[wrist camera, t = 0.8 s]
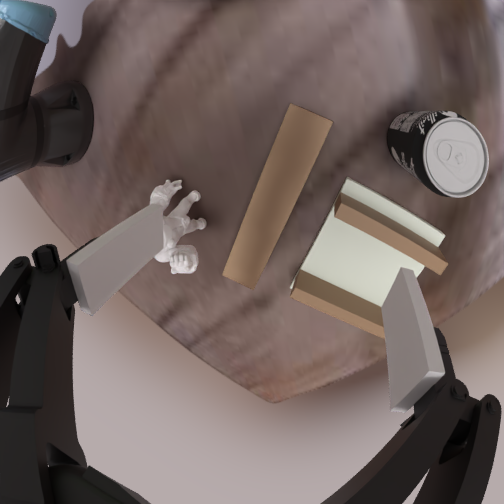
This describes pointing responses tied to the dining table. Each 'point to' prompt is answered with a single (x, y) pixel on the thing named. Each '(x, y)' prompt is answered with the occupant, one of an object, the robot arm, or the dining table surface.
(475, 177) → the beverage can
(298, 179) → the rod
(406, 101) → the dining table surface
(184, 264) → the figurine
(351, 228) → the rest stand
